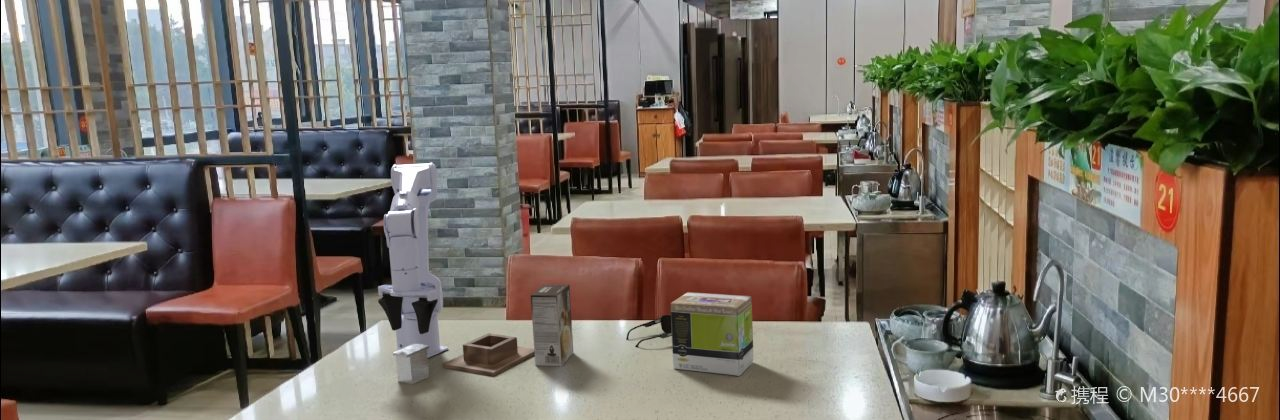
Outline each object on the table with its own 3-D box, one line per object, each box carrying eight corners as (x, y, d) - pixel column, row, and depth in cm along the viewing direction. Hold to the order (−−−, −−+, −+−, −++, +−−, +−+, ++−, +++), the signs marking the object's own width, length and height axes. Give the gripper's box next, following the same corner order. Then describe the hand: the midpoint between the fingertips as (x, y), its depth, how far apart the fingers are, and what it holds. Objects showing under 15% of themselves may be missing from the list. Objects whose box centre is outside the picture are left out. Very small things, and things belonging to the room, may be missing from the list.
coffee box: (547, 352, 197) (543, 283, 195) (574, 352, 196) (570, 283, 193) (534, 366, 189) (529, 294, 186) (562, 366, 187) (558, 294, 185)
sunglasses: (687, 342, 201) (684, 322, 200) (640, 357, 197) (637, 336, 196) (668, 330, 211) (665, 310, 209) (623, 343, 206) (620, 324, 205)
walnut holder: (443, 367, 190) (441, 347, 189) (489, 345, 204) (488, 327, 203) (493, 376, 183) (491, 356, 183) (537, 353, 197) (536, 334, 196)
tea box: (754, 362, 186) (753, 295, 183) (739, 377, 177) (738, 307, 174) (689, 354, 192) (687, 289, 190) (671, 369, 183) (669, 301, 181)
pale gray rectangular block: (395, 382, 182) (392, 352, 181) (417, 372, 188) (415, 343, 186) (409, 385, 180) (406, 355, 179) (431, 375, 186) (429, 345, 184)
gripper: (365, 269, 180) (370, 332, 182) (418, 274, 173) (423, 339, 175) (389, 262, 186) (395, 323, 188) (441, 266, 179) (446, 330, 181)
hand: (410, 331), depth 182 cm, fingers open, 7 cm apart
